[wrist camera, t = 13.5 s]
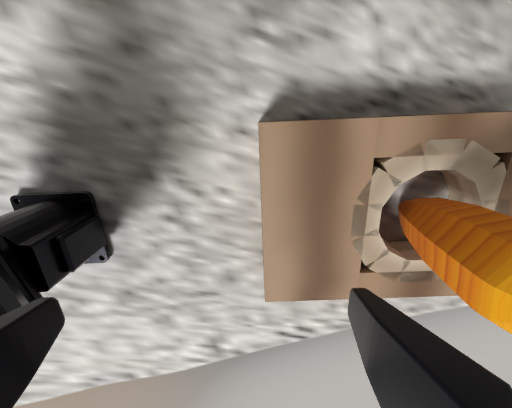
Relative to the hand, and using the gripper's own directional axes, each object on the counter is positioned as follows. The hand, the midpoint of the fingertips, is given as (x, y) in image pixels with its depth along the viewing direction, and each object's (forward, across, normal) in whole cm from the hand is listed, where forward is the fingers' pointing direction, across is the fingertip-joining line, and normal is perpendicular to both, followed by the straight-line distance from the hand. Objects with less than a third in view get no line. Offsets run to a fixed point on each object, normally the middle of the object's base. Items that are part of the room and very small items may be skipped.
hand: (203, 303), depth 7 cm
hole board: (+13, -11, +2) cm, 17 cm away
